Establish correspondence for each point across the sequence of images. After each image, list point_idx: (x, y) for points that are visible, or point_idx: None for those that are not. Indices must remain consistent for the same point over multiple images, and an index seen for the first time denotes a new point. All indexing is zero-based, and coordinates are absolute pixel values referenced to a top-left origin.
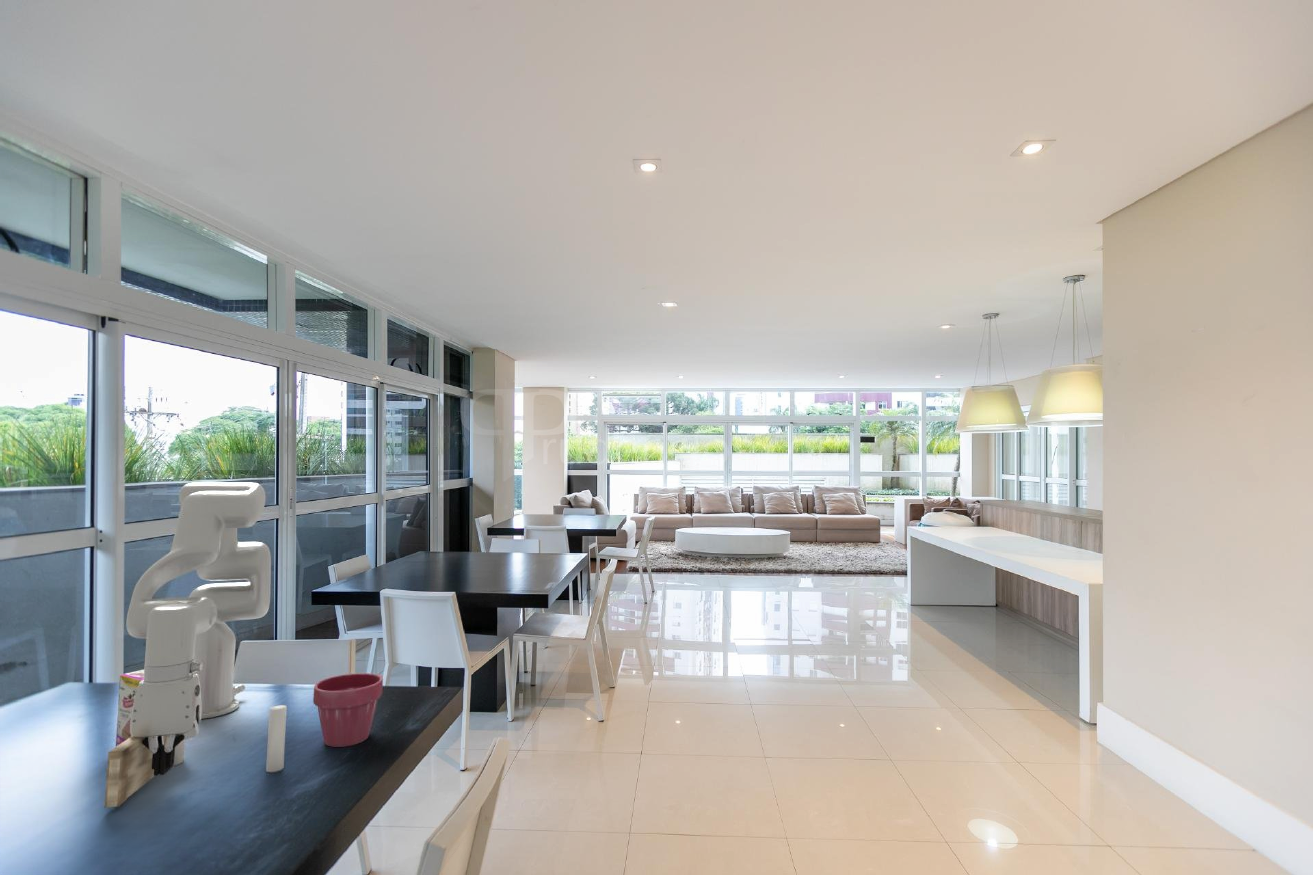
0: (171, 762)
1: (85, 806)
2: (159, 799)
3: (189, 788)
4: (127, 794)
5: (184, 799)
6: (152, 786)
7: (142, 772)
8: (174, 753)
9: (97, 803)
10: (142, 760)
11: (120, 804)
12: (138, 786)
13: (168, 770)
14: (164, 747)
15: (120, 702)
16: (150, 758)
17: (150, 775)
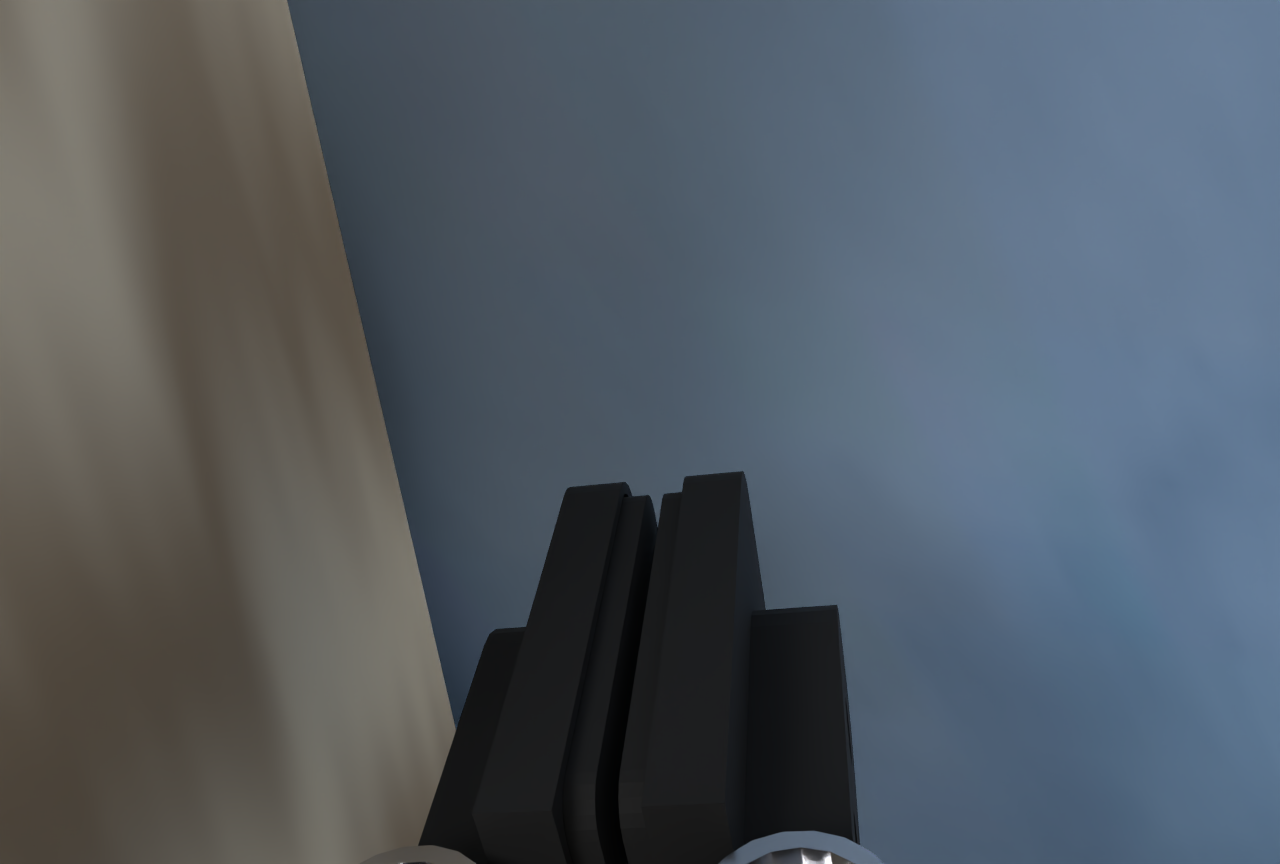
0: (852, 758)
1: None
2: None
3: (1085, 364)
4: (441, 745)
5: (1148, 666)
6: (445, 217)
7: (312, 549)
8: (844, 759)
9: None
10: (225, 739)
11: None
12: (395, 523)
13: (757, 556)
14: (534, 833)
15: None
16: (171, 404)
17: (306, 201)
